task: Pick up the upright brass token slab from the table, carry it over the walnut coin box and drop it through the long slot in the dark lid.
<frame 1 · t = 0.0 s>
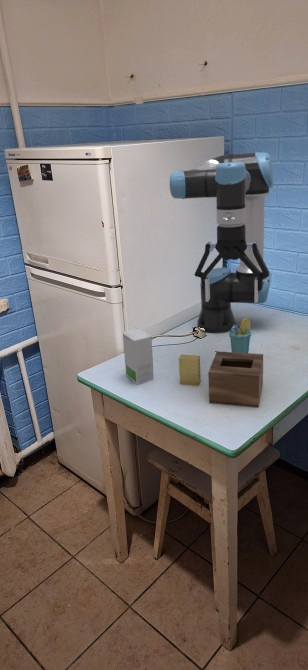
hand: (231, 300, 132), 28 cm above the table, fingers open, 13 cm apart
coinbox: (236, 392, 140), on the table
cup: (239, 362, 159), on the table
skincare box: (140, 377, 154), on the table
token: (190, 382, 148), on the table
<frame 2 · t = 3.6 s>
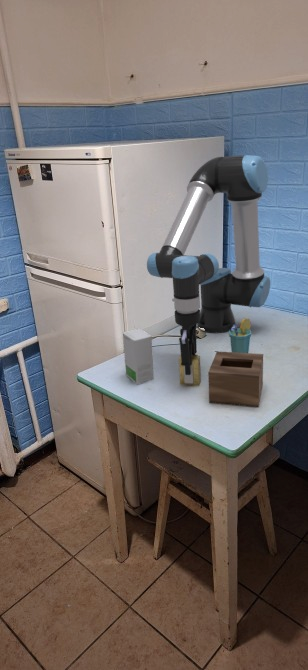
hand: (190, 379, 147), 1 cm above the table, fingers closed on token, 3 cm apart
token: (190, 382, 148), on the table, touching gripper
everything else where it was.
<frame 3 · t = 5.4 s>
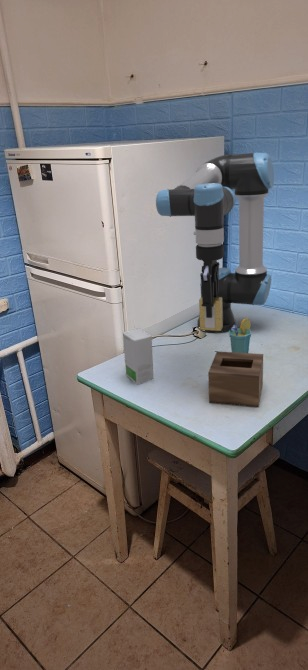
hand: (211, 324, 135), 21 cm above the table, fingers closed on token, 3 cm apart
token: (211, 328, 136), point 20 cm above the table, touching gripper
everything else where it was.
when the fingers open (13 cm above the table, at t = 7.5 s): token drops 11 cm, resting on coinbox.
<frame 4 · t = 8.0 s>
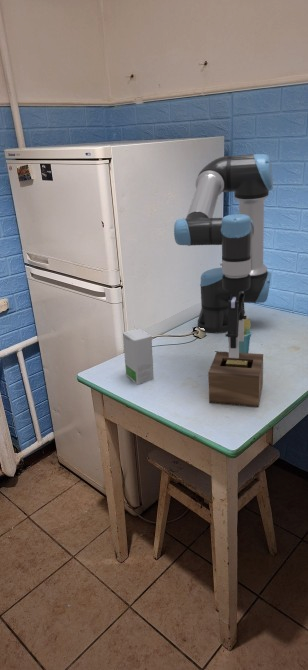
hand: (236, 348, 134), 14 cm above the table, fingers open, 11 cm apart
token: (236, 390, 140), point 1 cm above the table, touching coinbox
everything else where it was.
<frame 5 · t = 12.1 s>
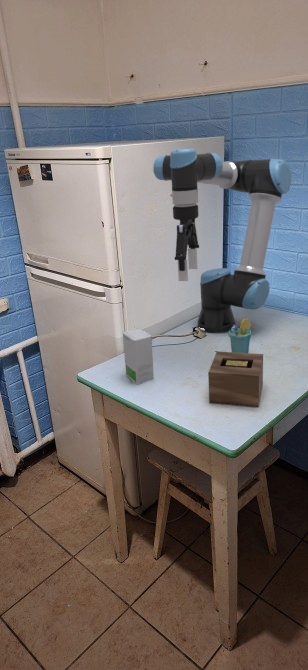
hand: (188, 274, 147), 32 cm above the table, fingers open, 13 cm apart
nothing on the table moved.
at the end: token inside the target area on the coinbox (0.1 cm from its centre), point 0.8 cm above the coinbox's base; the gripper is holding nothing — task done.
